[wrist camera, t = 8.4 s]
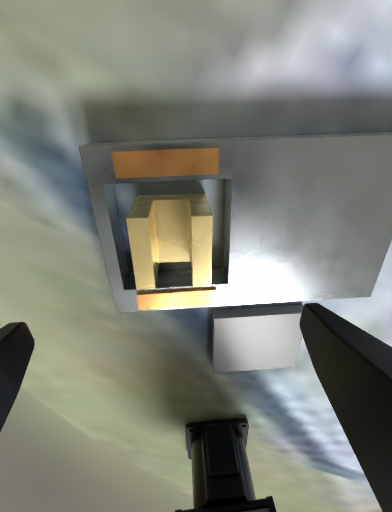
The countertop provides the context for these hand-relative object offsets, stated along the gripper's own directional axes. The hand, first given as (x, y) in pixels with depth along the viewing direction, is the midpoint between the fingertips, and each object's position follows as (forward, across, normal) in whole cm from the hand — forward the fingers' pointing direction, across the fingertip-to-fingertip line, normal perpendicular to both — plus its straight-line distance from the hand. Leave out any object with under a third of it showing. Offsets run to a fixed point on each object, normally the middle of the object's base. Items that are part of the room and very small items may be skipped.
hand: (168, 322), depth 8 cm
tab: (+9, -6, +10) cm, 15 cm away
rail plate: (+9, -4, 0) cm, 10 cm away
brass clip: (+9, 0, 0) cm, 9 cm away
